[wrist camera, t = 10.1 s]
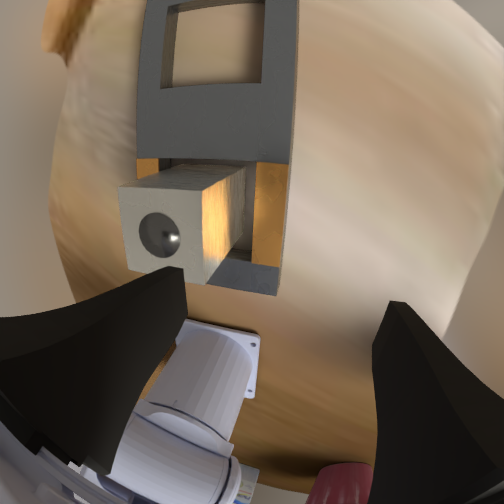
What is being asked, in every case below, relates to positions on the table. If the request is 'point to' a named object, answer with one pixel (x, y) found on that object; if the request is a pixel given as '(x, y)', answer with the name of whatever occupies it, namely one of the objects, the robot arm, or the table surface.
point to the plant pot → (342, 484)
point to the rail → (226, 127)
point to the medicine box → (246, 484)
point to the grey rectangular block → (183, 218)
